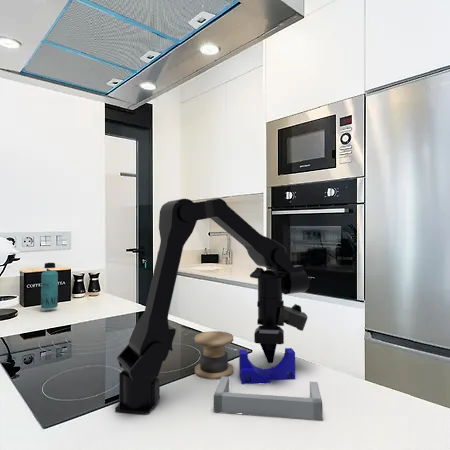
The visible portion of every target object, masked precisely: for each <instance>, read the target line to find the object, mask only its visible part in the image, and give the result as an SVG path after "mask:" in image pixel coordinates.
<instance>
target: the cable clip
mask: <svg viewBox="0 0 450 450" xmlns="http://www.w3.org/2000/svg"><path fill="white" fill-rule="evenodd" d="M247 351H248V350H247V349H239V350H238V354H239V355H238V356H239V357H238V358H239V359H238V361H239V365H238V366H239V370H238V371H239V372H238V373H239V379H240V383H241V385H260V384H259V383H264V384H270V383H271V381H284V380H286V381H288V380H289V381H290V380H296V352H295V350H294V349H293V348H292V347H286V348H284V353H283V357H282V359H281V360H280V362H279V363H277V364H276V365H275V366H273V367H269V368H260V367H258V366H256V365H254V364H253V363H252V362H251V360H250V359H249V354H248V352H247Z"/></svg>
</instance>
